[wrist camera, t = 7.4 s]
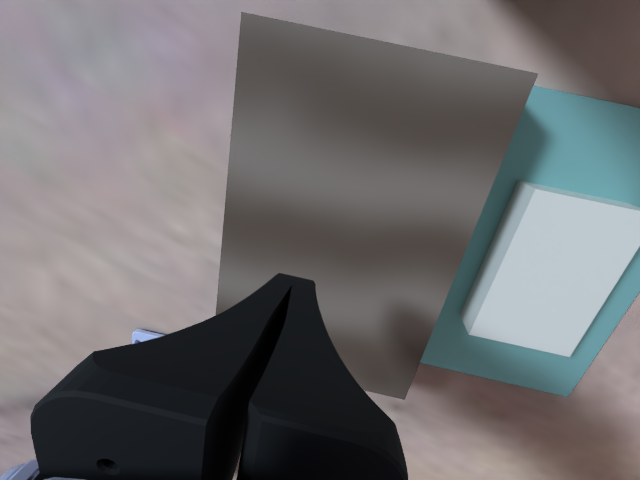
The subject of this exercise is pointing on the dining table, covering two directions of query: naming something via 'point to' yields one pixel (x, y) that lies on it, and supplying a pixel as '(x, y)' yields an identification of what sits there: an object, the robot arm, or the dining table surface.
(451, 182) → the grey flat block
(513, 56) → the dining table surface
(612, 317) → the mat
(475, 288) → the white block
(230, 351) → the robot arm
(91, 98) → the dining table surface
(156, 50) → the dining table surface
